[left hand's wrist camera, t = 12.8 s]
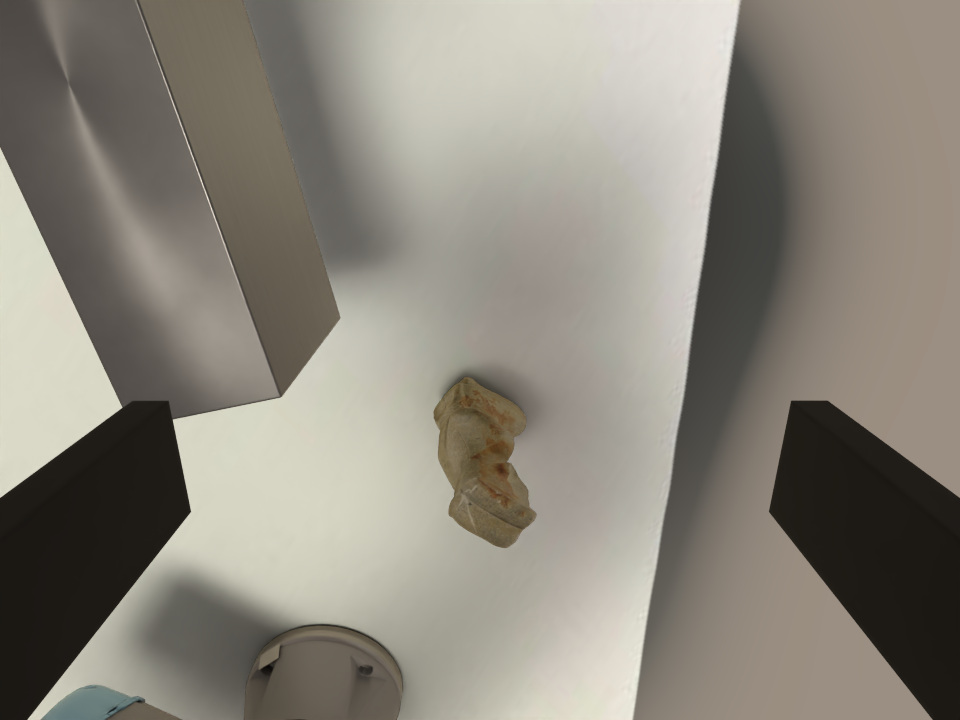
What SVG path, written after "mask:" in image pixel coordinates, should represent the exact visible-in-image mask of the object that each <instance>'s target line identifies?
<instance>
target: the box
mask: <svg viewBox="0 0 960 720" xmlns="http://www.w3.org/2000/svg"><path fill="white" fill-rule="evenodd" d="M0 148H1V150H2V152H3V154H4V156H5V158H6V160H7V163H8V165H9V167H10V169H11V171H12V173H13V175H14V177H15V180H16V182H17V184H18V186H19V188H20V190H21V192H22V195H23V197H24V199H25V201H26V203H27V205H28V207H29V209H30V212H31V214H32V216H33V218H34V220H35V222H36V224H37V226H38V229H39V231H40V233H41V235H42V237H43V239H44V241H45V243H46V246H47V248H48V250H49V252H50V254H51V256H52V258H53V260H54V263H55V265H56V267H57V269H58V271H59V273H60V275H61V277H62V280H63V282H64V284H65V286H66V288H67V290H68V292H69V295H70V297H71V299H72V301H73V303H74V305H75V307H76V309H77V312H78V314H79V316H80V318H81V320H82V322H83V324H84V326H85V329H86V331H87V333H88V335H89V337H90V339H91V341H92V343H93V346H94V348H95V350H96V352H97V354H98V356H99V358H100V360H101V363H102V365H103V367H104V369H105V371H106V373H107V375H108V378H109V380H110V382H111V384H112V386H113V388H114V390H115V392H116V395H117V397H118V399H119V401H120V403H121V405H122V407H125V406H126V405H127V404H129V403H130V402H131V401H169V405H170V410H171V414H172V419H177V418H182V417H187V416H192V415H197V414H202V413H207V412H211V411H216V410H221V409H226V408H231V407H236V406H241V405H246V404H251V403H256V402H261V401H266V400H270V399H275V398H280V397H282V396H283V394H284V393H285V392H286V390H287V389H288V388H289V386H290V385H291V384H292V382H293V381H294V380H295V378H296V377H297V376H298V374H299V373H300V372H301V370H302V369H303V368H304V366H305V365H306V364H307V362H308V361H309V360H310V358H311V357H312V356H313V354H314V353H315V352H316V350H317V349H318V348H319V346H320V345H321V344H322V342H323V341H324V340H325V338H326V337H327V336H328V334H329V333H330V332H331V330H332V329H333V328H334V326H335V325H336V324H337V322H338V321H339V320H340V314H339V311H338V308H337V305H336V301H335V298H334V295H333V292H332V288H331V285H330V282H329V279H328V275H327V272H326V269H325V266H324V262H323V259H322V256H321V253H320V249H319V246H318V243H317V240H316V236H315V233H314V230H313V227H312V223H311V220H310V217H309V214H308V210H307V207H306V204H305V201H304V197H303V194H302V191H301V188H300V184H299V181H298V178H297V175H296V171H295V168H294V165H293V162H292V158H291V155H290V152H289V149H288V145H287V142H286V139H285V136H284V132H283V129H282V126H281V123H280V119H279V116H278V113H277V110H276V106H275V103H274V100H273V97H272V93H271V90H270V87H269V84H268V80H267V77H266V74H265V71H264V67H263V64H262V61H261V58H260V54H259V51H258V48H257V45H256V41H255V38H254V35H253V32H252V28H251V25H250V22H249V19H248V15H247V12H246V9H245V6H244V2H243V0H0Z"/></svg>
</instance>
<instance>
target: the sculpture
mask: <svg viewBox="0 0 960 720" xmlns="http://www.w3.org/2000/svg"><path fill="white" fill-rule="evenodd" d="M434 419H435V422H436V424H437V426H438V428H439V430H440V435H439V447H438V458H439V462H440V464H441V466H442V468H443V470H444V472H445V474H446V476H447V478H448V480H449V482H450V484H451V485H452V487H453V489H454V490H455V492H454V498H453V499H452V501H451V503H450V506H449V516H450V517H452V518H453V519H454V520H455V521H456V522H457V523H458V524H459V525H460V526H462V527H463V528H464V529H466V530H468V531H469V532H471V533H473V534H475V535H477V536H479V537H481V538H483V539H484V540H486V541H488V542H490V543H491V544H493V545H495V546H498V547H502V548H507V547H509V546H511V545H512V544H513V543H515V542H516V540H517V539H518V537H519V535H520V533H521V532H522V530H524V529H525V528H526V527H527V526H529V525H530V524H531V523H532V522H533V521H534V520H535V518H536V513H535V512H534V511H533V510H532V509H531V508H530V507H529V500H528V489H527V488H526V486H525V485H524V483H523V482H522V481H521V480H520V478H519V477H518V475H517V473H516V471H515V469H514V467H513V465H512V464H511V463H508V462H507V461H508V459H509V457H510V456H511V454H512V452H513V450H514V439H513V438H514V437H516V436H517V435H520V434H521V432H522V431H523V430H524V429H525V427H526V417H525V415H524V413H523V412H522V410H521V409H520V408H519V407H518V406H517V405H515V404H514V403H513V402H511V401H509V400H508V399H506V398H504V397H502V396H500V395H498V394H496V393H494V392H492V391H490V390H488V389H486V388H484V387H482V386H480V385H479V384H478V383H476V381H475V380H474V379H472V378H469V377H465V378H463V379H462V380H461V381H460V382H459V383H457V384H455V385H454V386H453V387H452V388H451V389H450V390H449V391H448V392H447V393H446V394H445V396H444V397H443V398H442V399H441V400H440V402H439V403H438V405H437V406H436V408H435V410H434Z"/></svg>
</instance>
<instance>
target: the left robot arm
mask: <svg viewBox="0 0 960 720" xmlns="http://www.w3.org/2000/svg"><path fill="white" fill-rule="evenodd" d="M190 512H191V509H190V504H189V499H188V494H187V489H186V484H185V479H184V474H183V469H182V464H181V459H180V454H179V449H178V444H177V439H176V434H175V429H174V424H173V419H172V414H171V410H170V405H169V401H131V402H130V403H129V404H127V405H126V406H125V407H123V408H122V409H120V410H119V411H118V412H116V413H115V414H114V415H112V416H111V417H110V418H108V419H107V420H106V421H104V422H103V423H101V424H100V425H99V426H97V427H96V428H95V429H93V430H92V431H91V432H89V433H88V434H87V435H85V436H84V437H82V438H81V439H80V440H78V441H77V442H76V443H74V444H73V445H72V446H70V447H69V448H68V449H66V450H65V451H63V452H62V453H61V454H59V455H58V456H57V457H55V458H54V459H53V460H51V461H50V462H48V463H47V464H46V465H44V466H43V467H42V468H40V469H39V470H38V471H36V472H35V473H34V474H32V475H31V476H29V477H28V478H27V479H25V480H24V481H23V482H21V483H20V484H19V485H17V486H16V487H15V488H13V489H12V490H10V491H9V492H8V493H6V494H5V495H4V496H2V497H1V498H0V720H27V719H28V718H29V717H30V716H31V714H32V713H33V712H34V710H35V709H36V708H37V707H38V705H39V704H40V703H41V702H42V700H43V699H44V698H45V697H46V695H47V694H48V693H49V691H50V690H51V689H52V688H53V686H54V685H55V684H56V683H57V681H58V680H59V679H60V677H61V676H62V675H63V674H64V672H65V671H66V670H67V669H68V667H69V666H70V665H71V663H72V662H73V661H74V660H75V658H76V657H77V656H78V655H79V653H80V652H81V651H82V650H83V648H84V647H85V646H86V644H87V643H88V642H89V641H90V639H91V638H92V637H93V636H94V634H95V633H96V632H97V630H98V629H99V628H100V627H101V625H102V624H103V623H104V622H105V620H106V619H107V618H108V617H109V615H110V614H111V613H112V611H113V610H114V609H115V608H116V606H117V605H118V604H119V603H120V601H121V600H122V599H123V597H124V596H125V595H126V594H127V592H128V591H129V590H130V589H131V587H132V586H133V585H134V583H135V582H136V581H137V580H138V578H139V577H140V576H141V575H142V573H143V572H144V571H145V570H146V568H147V567H148V566H149V564H150V563H151V562H152V561H153V559H154V558H155V557H156V556H157V554H158V553H159V552H160V550H161V549H162V548H163V547H164V545H165V544H166V543H167V542H168V540H169V539H170V538H171V537H172V535H173V534H174V533H175V531H176V530H177V529H178V528H179V526H180V525H181V524H182V523H183V521H184V520H185V519H186V517H187V516H188V515H189V514H190ZM769 512H770V514H771V515H772V516H773V517H774V519H775V520H776V521H777V523H778V524H779V525H780V526H781V528H782V529H783V530H784V531H785V533H786V534H787V535H788V536H789V538H790V539H791V540H792V542H793V543H794V544H795V545H796V547H797V548H798V549H799V550H800V552H801V553H802V554H803V556H804V557H805V558H806V559H807V561H808V562H809V563H810V564H811V566H812V567H813V568H814V569H815V571H816V572H817V573H818V575H819V576H820V577H821V578H822V580H823V581H824V582H825V583H826V585H827V586H828V587H829V589H830V590H831V591H832V592H833V594H834V595H835V596H836V597H837V599H838V600H839V601H840V603H841V604H842V605H843V606H844V608H845V609H846V610H847V611H848V613H849V614H850V615H851V617H852V618H853V619H854V620H855V622H856V623H857V624H858V625H859V627H860V628H861V629H862V630H863V632H864V633H865V634H866V635H867V637H868V638H869V639H870V641H871V642H872V643H873V644H874V646H875V647H876V648H877V650H878V651H879V652H880V653H881V655H882V656H883V657H884V658H885V660H886V661H887V662H888V663H889V665H890V666H891V667H892V669H893V670H894V671H895V672H896V674H897V675H898V676H899V677H900V679H901V680H902V681H903V683H904V684H905V685H906V686H907V688H908V689H909V690H910V691H911V693H912V694H913V695H914V696H915V698H916V699H917V700H918V702H919V703H920V704H921V705H922V707H923V708H924V709H925V710H926V712H927V713H928V714H929V716H930V717H931V718H932V719H933V720H960V498H959V497H958V496H956V495H955V494H954V493H952V492H951V491H950V490H948V489H947V488H945V487H944V486H943V485H941V484H940V483H939V482H937V481H936V480H935V479H933V478H932V477H931V476H929V475H928V474H926V473H925V472H924V471H922V470H921V469H920V468H918V467H917V466H916V465H914V464H913V463H912V462H910V461H909V460H907V459H906V458H905V457H903V456H902V455H901V454H899V453H898V452H897V451H895V450H894V449H892V448H891V447H890V446H888V445H887V444H886V443H884V442H883V441H882V440H880V439H879V438H878V437H876V436H875V435H873V434H872V433H871V432H869V431H868V430H867V429H865V428H864V427H863V426H861V425H860V424H859V423H857V422H856V421H854V420H853V419H852V418H850V417H849V416H848V415H846V414H845V413H844V412H842V411H841V410H840V409H838V408H837V407H835V406H834V405H833V404H831V403H830V402H829V401H791V404H790V410H789V415H788V420H787V424H786V430H785V434H784V440H783V444H782V449H781V454H780V459H779V465H778V469H777V474H776V480H775V485H774V489H773V495H772V500H771V504H770V509H769ZM402 690H403V684H402V677H401V674H400V671H399V668H398V666H397V665H396V663H395V661H394V660H393V658H392V657H391V656H390V655H389V653H388V652H387V651H386V650H385V649H384V648H383V647H381V646H380V645H379V644H378V643H376V642H375V641H373V640H372V639H370V638H368V637H366V636H364V635H362V634H360V633H357V632H354V631H351V630H348V629H344V628H339V627H333V626H309V627H302V628H298V629H294V630H291V631H288V632H286V633H283V634H281V635H279V636H278V637H276V638H275V639H273V640H272V641H270V642H269V643H268V644H267V645H266V646H265V647H264V648H263V649H262V650H261V652H260V653H259V655H258V656H257V658H256V660H255V663H254V665H253V667H252V670H251V672H250V674H249V676H248V680H247V683H246V694H245V709H244V720H397V717H398V714H399V711H400V704H401V697H402ZM41 720H182V719H179V718H177V717H175V716H173V715H171V714H168V713H166V712H164V711H162V710H160V709H157V708H155V707H153V706H151V705H149V704H146V703H145V699H143V698H141V697H138V696H137V697H130V696H127V695H125V694H122V693H120V692H117V691H115V690H112V689H110V688H107V687H104V686H101V685H89V686H85V687H82V688H79V689H77V690H76V691H74V692H72V693H70V694H69V695H68V696H66V697H65V698H64V699H62V700H61V701H60V702H59V703H58V704H57V705H55V706H54V707H53V708H52V709H51V710H50V711H49V712H48V713H47V714H46V715H45V716H44V717H43V718H42V719H41Z"/></svg>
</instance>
